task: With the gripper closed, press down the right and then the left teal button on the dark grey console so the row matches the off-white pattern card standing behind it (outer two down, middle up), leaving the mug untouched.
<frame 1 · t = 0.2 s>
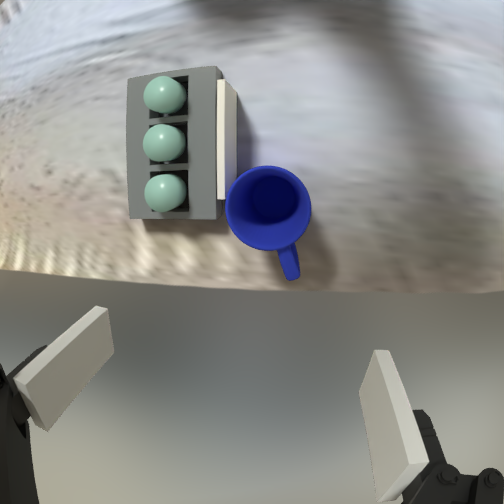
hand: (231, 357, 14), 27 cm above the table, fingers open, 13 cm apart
console: (176, 144, 38), on the table
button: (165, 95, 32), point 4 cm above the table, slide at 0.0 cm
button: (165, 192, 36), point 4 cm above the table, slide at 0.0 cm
button middle: (164, 143, 34), point 4 cm above the table, slide at 0.0 cm
mug: (279, 210, 39), on the table
pattern card: (233, 141, 37), on the table
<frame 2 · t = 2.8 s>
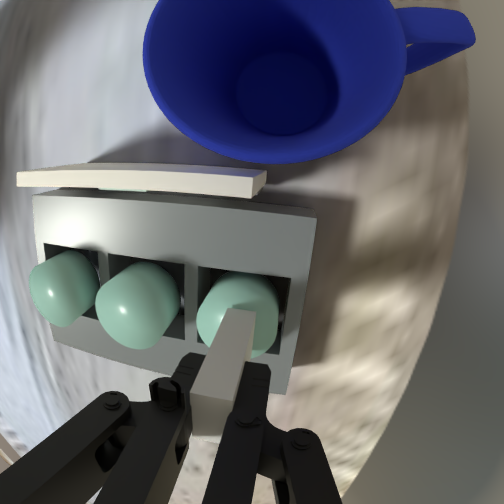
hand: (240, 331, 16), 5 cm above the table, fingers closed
console: (163, 279, 21), on the table
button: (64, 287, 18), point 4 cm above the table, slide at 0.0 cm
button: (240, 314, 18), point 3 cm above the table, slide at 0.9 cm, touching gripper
button middle: (138, 304, 17), point 4 cm above the table, slide at 0.0 cm
mug: (312, 88, 16), on the table
pattern card: (164, 169, 19), on the table
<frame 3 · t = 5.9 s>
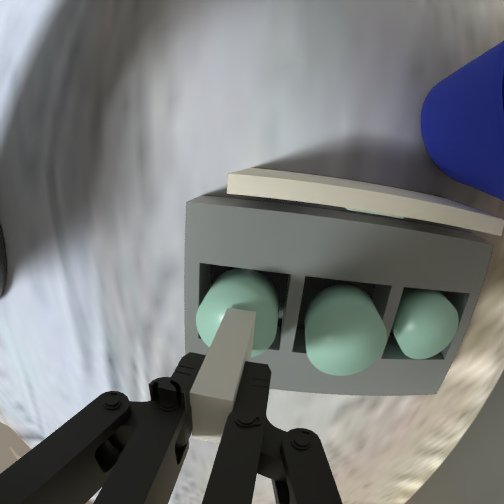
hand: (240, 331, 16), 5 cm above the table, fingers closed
console: (335, 299, 20), on the table
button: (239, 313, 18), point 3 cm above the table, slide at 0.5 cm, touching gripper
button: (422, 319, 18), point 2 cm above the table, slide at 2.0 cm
button middle: (343, 329, 17), point 4 cm above the table, slide at 0.0 cm
mug: (476, 129, 16), on the table
pattern card: (354, 187, 18), on the table
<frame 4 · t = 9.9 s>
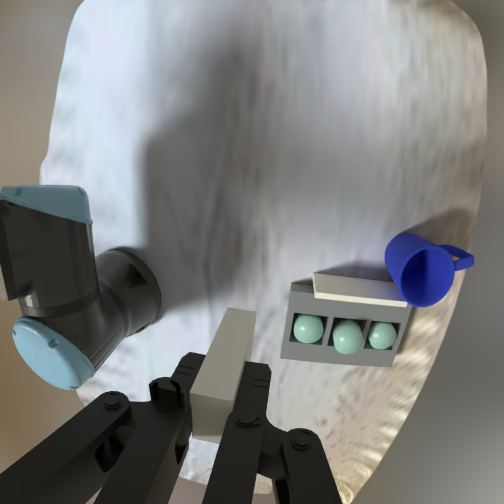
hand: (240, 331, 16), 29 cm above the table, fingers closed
console: (344, 323, 47), on the table
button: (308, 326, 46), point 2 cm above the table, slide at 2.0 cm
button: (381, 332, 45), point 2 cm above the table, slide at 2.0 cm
button middle: (347, 336, 43), point 4 cm above the table, slide at 0.0 cm
mug: (413, 250, 42), on the table
pattern card: (354, 280, 45), on the table
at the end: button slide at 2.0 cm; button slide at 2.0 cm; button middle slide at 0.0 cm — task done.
